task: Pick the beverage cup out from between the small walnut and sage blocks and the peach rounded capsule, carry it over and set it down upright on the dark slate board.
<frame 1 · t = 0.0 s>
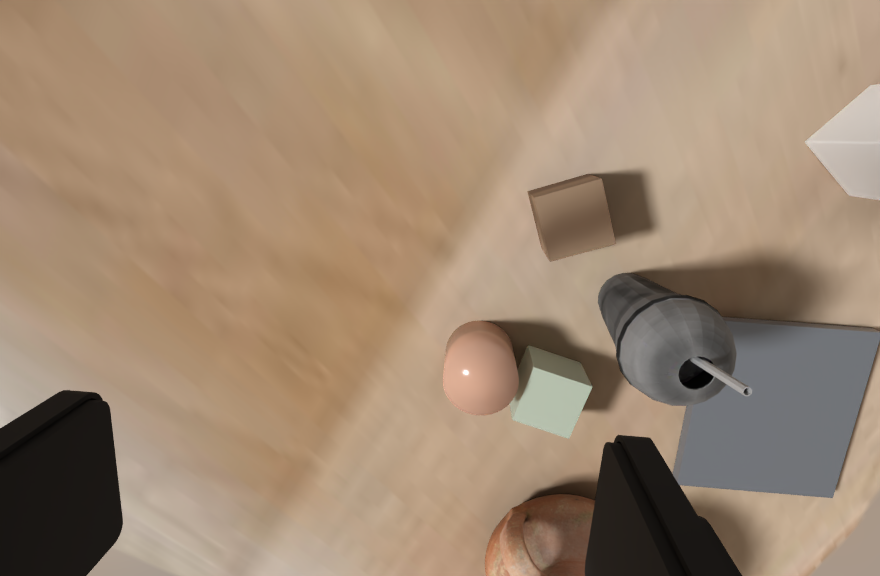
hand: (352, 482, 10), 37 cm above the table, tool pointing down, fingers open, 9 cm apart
sage block: (543, 377, 49), on the table
ceramic jug: (554, 537, 54), on the table
milk: (857, 141, 42), on the table
walnut block: (564, 212, 45), on the table
beverage cup: (623, 297, 47), on the table
slate board: (767, 406, 49), on the table
peach rounded capsule: (479, 352, 49), on the table
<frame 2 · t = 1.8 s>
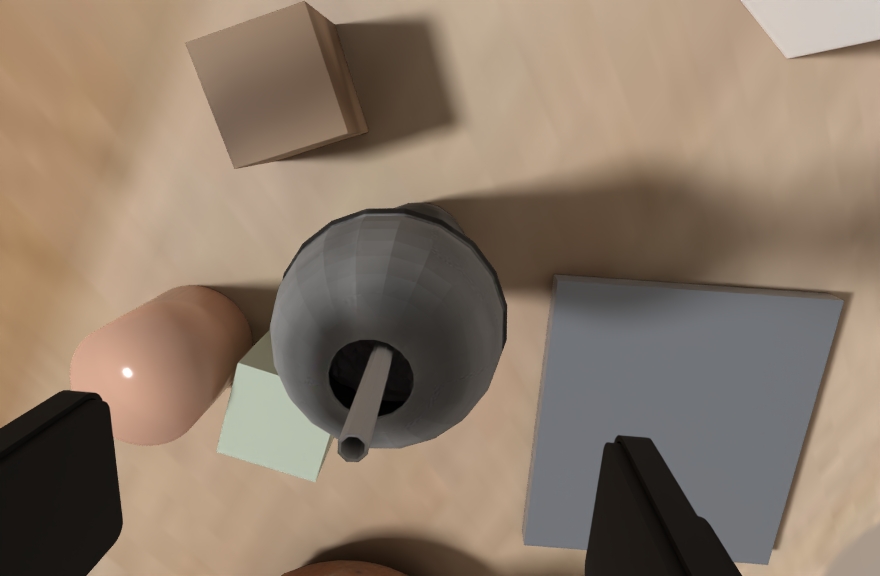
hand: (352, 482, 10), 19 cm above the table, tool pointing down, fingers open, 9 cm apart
sage block: (307, 377, 31), on the table
walnut block: (303, 95, 26), on the table
beverage cup: (420, 245, 28), on the table
slate board: (662, 421, 30), on the table
peach rounded capsule: (198, 337, 30), on the table
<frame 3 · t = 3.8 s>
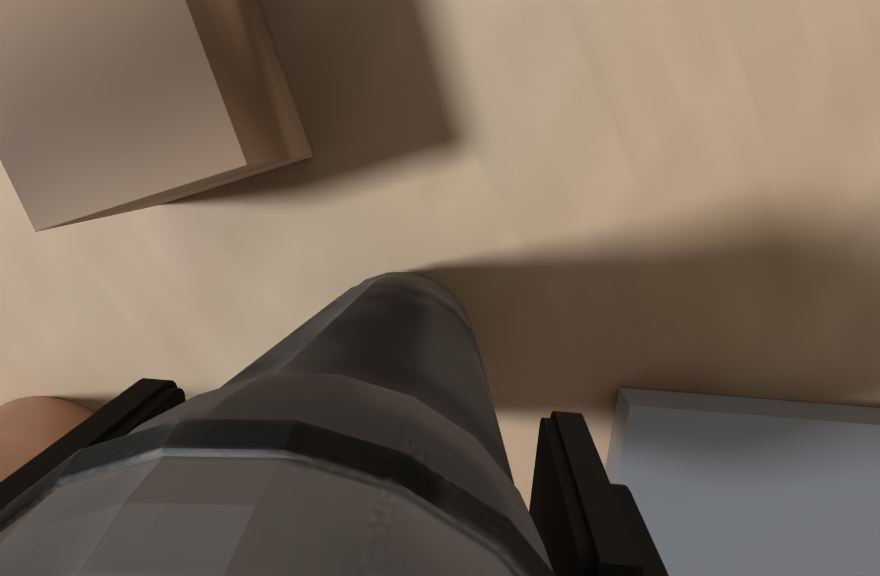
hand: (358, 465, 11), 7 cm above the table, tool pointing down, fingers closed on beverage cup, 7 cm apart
walnut block: (204, 96, 16), on the table
beverage cup: (401, 338, 17), on the table, touching gripper
peach rounded capsule: (58, 472, 19), on the table
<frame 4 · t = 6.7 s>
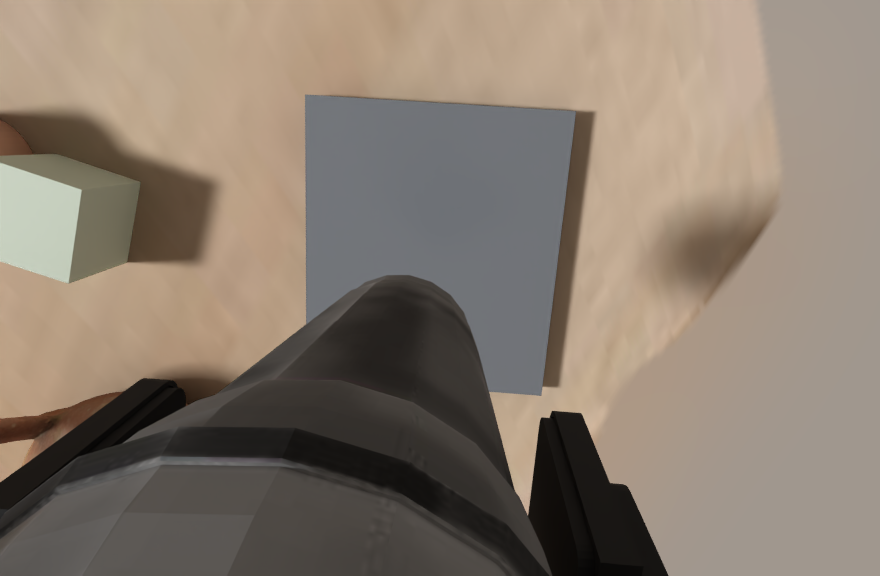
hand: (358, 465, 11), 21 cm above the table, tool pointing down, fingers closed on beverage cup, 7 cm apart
sage block: (93, 209, 32), on the table
ceramic jug: (166, 465, 36), on the table
beverage cup: (401, 341, 17), point 14 cm above the table, touching gripper
slate board: (432, 250, 31), on the table
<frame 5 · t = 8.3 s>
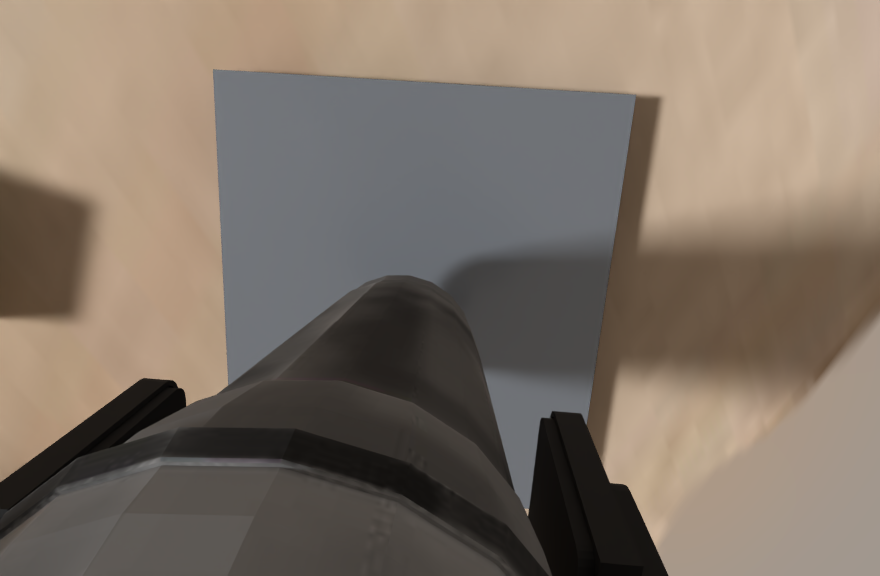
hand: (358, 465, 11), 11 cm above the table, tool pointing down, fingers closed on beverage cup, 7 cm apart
beverage cup: (401, 341, 17), point 4 cm above the table, touching gripper
slate board: (413, 302, 21), on the table
when the fingers open (9 cm above the table, at t = 9.8 s): beverage cup stays where it is, resting on slate board.
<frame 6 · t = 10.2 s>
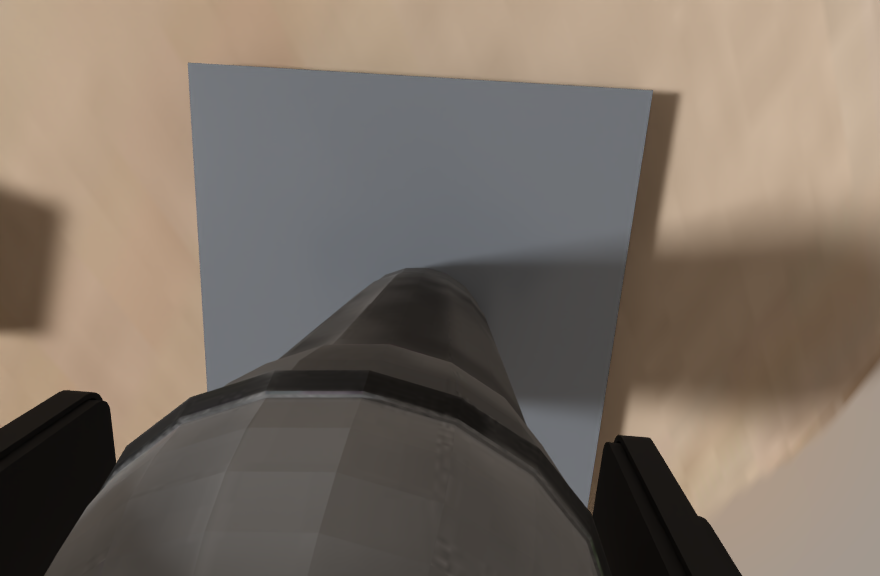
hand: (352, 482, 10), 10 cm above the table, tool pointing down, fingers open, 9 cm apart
beverage cup: (418, 329, 19), point 1 cm above the table, touching slate board
slate board: (409, 316, 20), on the table
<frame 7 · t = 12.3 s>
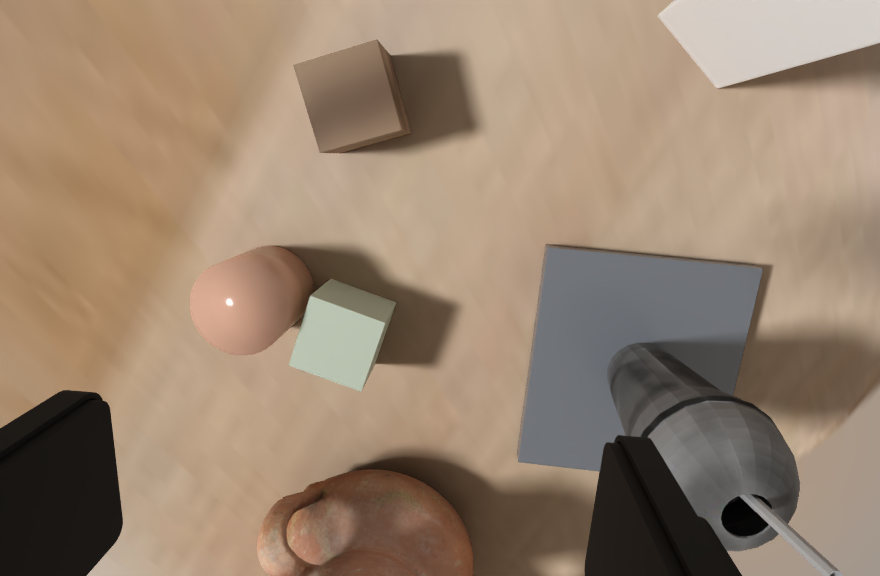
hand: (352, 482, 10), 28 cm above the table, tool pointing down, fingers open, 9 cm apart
sage block: (353, 321, 39), on the table
ceramic jug: (380, 526, 44), on the table
milk: (725, 17, 33), on the table
walnut block: (365, 105, 36), on the table
beverage cup: (638, 372, 38), point 1 cm above the table, touching slate board
slate board: (628, 364, 39), on the table
peach rounded capsule: (272, 286, 39), on the table
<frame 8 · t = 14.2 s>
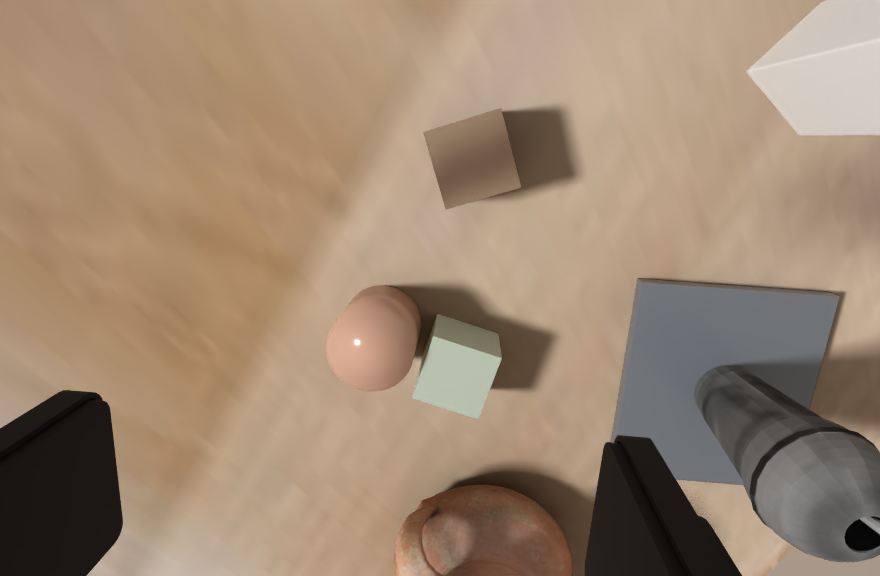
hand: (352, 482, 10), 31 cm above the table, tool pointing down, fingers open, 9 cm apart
sage block: (457, 351, 43), on the table
ceramic jug: (478, 533, 48), on the table
milk: (807, 71, 36), on the table
walnut block: (472, 157, 39), on the table
beverage cup: (722, 391, 42), point 1 cm above the table, touching slate board
slate board: (711, 383, 42), on the table
peach rounded capsule: (383, 322, 43), on the table
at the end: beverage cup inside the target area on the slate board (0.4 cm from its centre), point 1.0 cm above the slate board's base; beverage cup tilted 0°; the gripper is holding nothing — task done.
